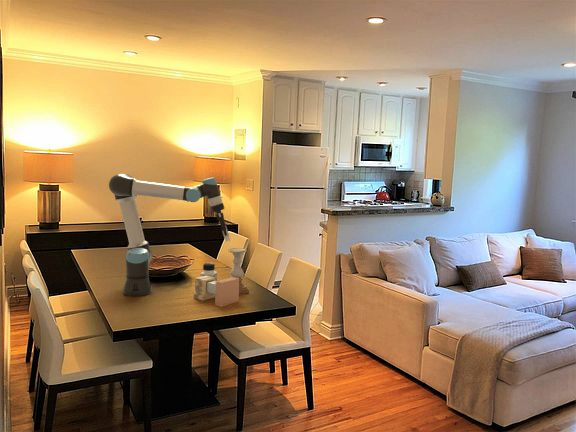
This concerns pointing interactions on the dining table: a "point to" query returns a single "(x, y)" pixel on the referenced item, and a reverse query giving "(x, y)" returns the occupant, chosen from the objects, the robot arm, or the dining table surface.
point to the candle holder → (238, 268)
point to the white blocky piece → (202, 288)
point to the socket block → (227, 291)
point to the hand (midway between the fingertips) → (227, 239)
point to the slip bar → (211, 286)
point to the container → (209, 270)
